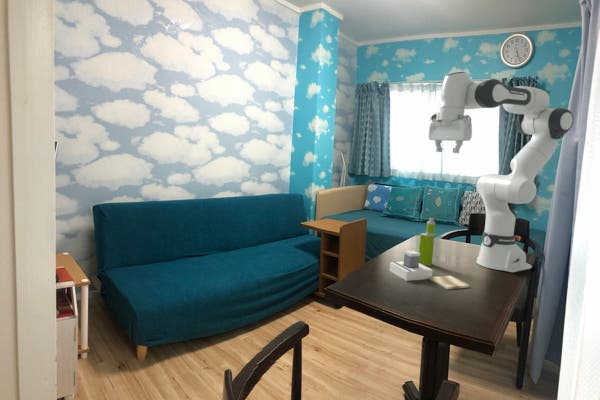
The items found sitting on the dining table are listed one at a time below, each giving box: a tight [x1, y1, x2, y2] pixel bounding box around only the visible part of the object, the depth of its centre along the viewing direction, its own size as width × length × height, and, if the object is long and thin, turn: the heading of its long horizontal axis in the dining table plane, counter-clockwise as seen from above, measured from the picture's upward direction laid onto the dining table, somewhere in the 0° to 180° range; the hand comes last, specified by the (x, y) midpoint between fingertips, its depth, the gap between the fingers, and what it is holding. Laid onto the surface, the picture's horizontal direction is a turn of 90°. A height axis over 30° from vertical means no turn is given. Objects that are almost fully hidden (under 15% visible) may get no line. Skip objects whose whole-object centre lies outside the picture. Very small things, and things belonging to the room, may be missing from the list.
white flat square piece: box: [389, 260, 433, 282], centre depth 146 cm, size 11×11×4 cm
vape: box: [417, 217, 436, 267], centre depth 160 cm, size 4×6×20 cm, turn 49°
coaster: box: [428, 275, 471, 290], centre depth 139 cm, size 10×10×1 cm
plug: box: [403, 250, 420, 269], centre depth 146 cm, size 4×4×9 cm
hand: (447, 152), depth 147 cm, fingers open, 8 cm apart
